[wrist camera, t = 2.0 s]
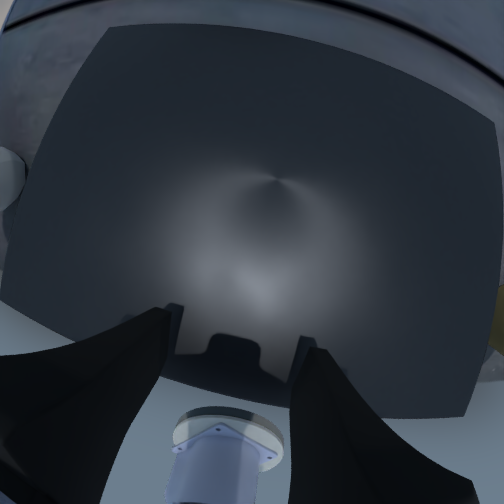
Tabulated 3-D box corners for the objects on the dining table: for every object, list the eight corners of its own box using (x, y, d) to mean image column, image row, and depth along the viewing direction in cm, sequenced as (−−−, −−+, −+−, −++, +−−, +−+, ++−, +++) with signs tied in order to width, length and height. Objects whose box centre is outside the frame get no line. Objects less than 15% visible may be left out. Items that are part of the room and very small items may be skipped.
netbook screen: (455, 411, 11) (464, 417, 10) (8, 299, 12) (-2, 299, 11) (487, 127, 13) (494, 122, 12) (113, 35, 14) (109, 26, 13)
